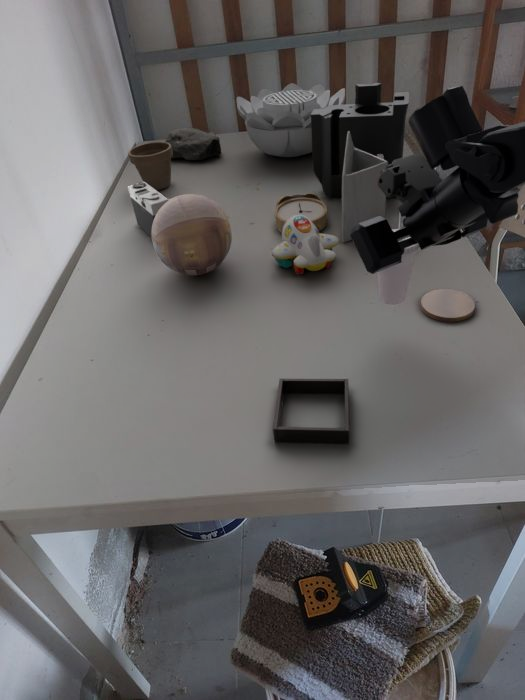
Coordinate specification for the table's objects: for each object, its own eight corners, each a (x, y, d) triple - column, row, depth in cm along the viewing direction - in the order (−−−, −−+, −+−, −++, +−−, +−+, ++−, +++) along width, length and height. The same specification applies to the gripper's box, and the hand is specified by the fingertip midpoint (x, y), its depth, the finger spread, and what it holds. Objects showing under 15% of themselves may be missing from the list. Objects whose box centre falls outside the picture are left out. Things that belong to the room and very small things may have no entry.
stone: (156, 157, 151) (157, 122, 150) (166, 165, 159) (167, 131, 158) (216, 158, 148) (218, 122, 147) (223, 166, 157) (225, 132, 156)
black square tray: (348, 392, 72) (348, 378, 70) (349, 444, 65) (349, 430, 63) (280, 391, 73) (279, 378, 72) (274, 442, 66) (272, 429, 64)
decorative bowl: (363, 158, 141) (365, 99, 131) (257, 178, 137) (251, 118, 128) (327, 129, 164) (326, 76, 154) (236, 145, 160) (229, 92, 151)
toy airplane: (284, 248, 88) (258, 211, 99) (285, 290, 94) (261, 250, 105) (355, 232, 91) (322, 197, 102) (352, 274, 97) (321, 236, 108)
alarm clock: (276, 226, 107) (271, 187, 117) (278, 246, 111) (273, 206, 121) (330, 221, 107) (321, 181, 116) (330, 240, 110) (321, 200, 120)
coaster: (469, 292, 87) (469, 288, 87) (479, 321, 81) (480, 317, 81) (417, 293, 89) (418, 289, 88) (423, 322, 82) (424, 318, 82)
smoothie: (403, 314, 74) (410, 223, 65) (363, 302, 77) (364, 214, 69) (421, 292, 78) (430, 203, 69) (382, 282, 81) (386, 196, 72)
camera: (193, 235, 114) (184, 191, 108) (159, 247, 112) (148, 203, 105) (168, 215, 124) (159, 174, 118) (136, 225, 121) (125, 184, 115)
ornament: (248, 255, 105) (239, 183, 96) (216, 295, 94) (202, 218, 85) (184, 248, 110) (169, 179, 101) (146, 285, 100) (126, 212, 90)
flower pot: (130, 187, 141) (120, 149, 135) (166, 174, 146) (158, 138, 140) (149, 198, 134) (139, 159, 127) (186, 184, 138) (179, 146, 132)
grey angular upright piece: (381, 243, 103) (386, 144, 91) (341, 242, 105) (341, 145, 93) (386, 208, 115) (392, 117, 103) (351, 208, 117) (351, 118, 105)
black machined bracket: (401, 199, 118) (409, 95, 104) (312, 199, 123) (308, 100, 109) (402, 179, 127) (410, 81, 113) (319, 180, 132) (316, 86, 118)
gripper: (485, 121, 63) (415, 184, 78) (360, 159, 57) (310, 220, 72) (526, 202, 62) (447, 251, 77) (403, 250, 56) (344, 293, 71)
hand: (388, 251), depth 74 cm, fingers closed on smoothie, 6 cm apart
